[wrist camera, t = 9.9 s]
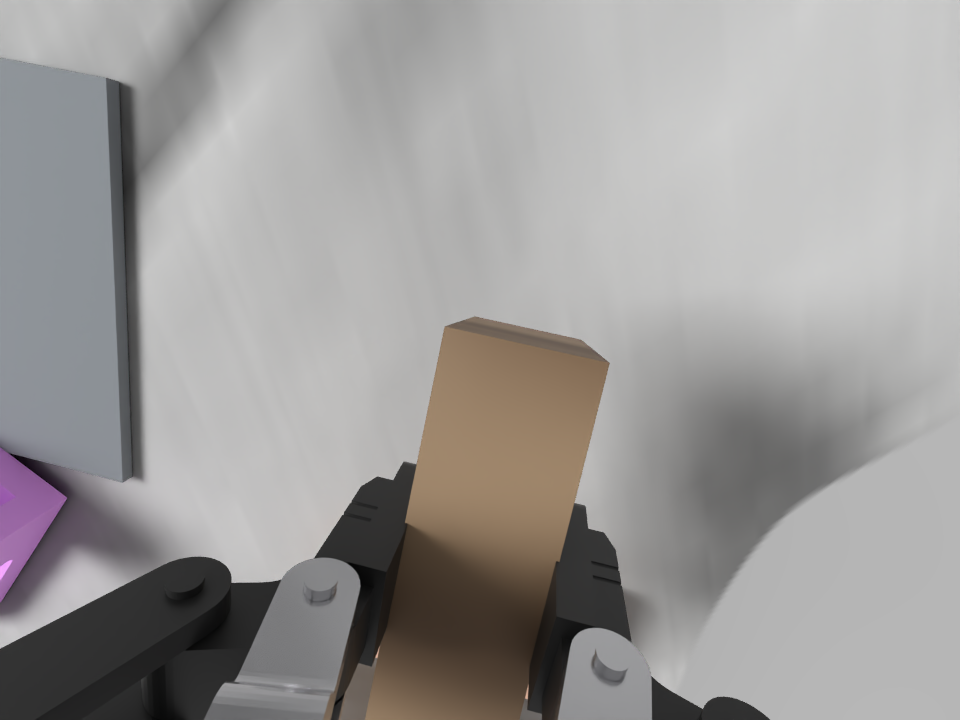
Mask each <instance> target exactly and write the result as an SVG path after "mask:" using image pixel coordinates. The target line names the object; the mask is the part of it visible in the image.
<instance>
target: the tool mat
mask: <svg viewBox="0 0 960 720" xmlns="http://www.w3.org/2000/svg"><path fill="white" fill-rule="evenodd" d="M0 448H2V449H3V450H4V451H6V452H7V453H11V454H15V455H19V456H22V457H26V458H30V459H34V460H38V461H42V462H45V463H49V464H53V465H57V466H61V467H65V468H68V469H72V470H76V471H80V472H84V473H88V474H91V475H95V476H99V477H103V478H107V479H111V480H114V481H118V482H122V483H123V482H124V481H126V480H128V479H129V478H131V477H132V451H131V422H130V392H129V363H128V333H127V304H126V274H125V245H124V215H123V186H122V157H121V127H120V98H119V82H118V81H115V80H111V79H108V78H104V77H98V76H93V75H88V74H83V73H77V72H72V71H67V70H62V69H57V68H51V67H46V66H41V65H36V64H30V63H25V62H20V61H15V60H9V59H4V58H0Z"/></svg>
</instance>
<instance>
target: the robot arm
mask: <svg viewBox="0 0 960 720" xmlns="http://www.w3.org/2000/svg"><path fill="white" fill-rule="evenodd" d="M416 466H417V464H412V463H408V462H403V464H402V465H401V467H400V469H399V471H398V473H397V474H396V476H395V478H394V480H389V479H385V478H381V477H376V478H374V479H373V480H371V481H369V482H368V483H366V484H365V485H363V486H361V488H360V489H359V491H358V492H357V494H356V495H355V497H354V498H353V500H352V503H350V504H349V506H348V507H347V509H346V510H345V512H344V515H342V517H341V518H340V520H339V521H338V523H337V524H336V526H335V527H334V529H333V530H332V532H331V533H330V535H329V536H328V538H327V539H326V541H325V542H324V544H323V545H322V547H321V549H320V550H319V552H318V553H317V555H316V556H315V558H314V559H310V560H306V561H303V562H301V563H299V564H297V565H296V566H294V567H292V568H291V569H290V570H289V571H288V572H287V573H286V574H285V575H284V576H283V578H282V580H279V581H273V582H262V583H231V573H230V571H229V569H228V568H227V567H226V566H225V565H224V564H223V563H221V562H220V561H218V560H215V559H212V558H208V557H188V558H183V559H178V560H175V561H172V562H169V563H167V564H165V565H163V566H161V567H159V568H157V569H155V570H153V571H151V572H149V573H147V574H145V575H143V576H141V577H139V578H137V579H135V580H133V581H131V582H129V583H127V584H126V585H124V586H122V587H120V588H118V589H116V590H114V591H112V592H110V593H108V594H106V595H104V596H102V597H100V598H98V599H96V600H94V601H92V602H90V603H88V604H87V605H85V606H83V607H81V608H79V609H77V610H75V611H73V612H71V613H69V614H67V615H65V616H63V617H61V618H59V619H57V620H55V621H53V622H51V623H50V624H48V625H46V626H44V627H42V628H40V629H38V630H36V631H34V632H32V633H30V634H28V635H26V636H24V637H22V638H20V639H18V640H16V641H14V642H12V643H11V644H9V645H7V646H5V647H3V648H1V649H0V720H340V719H341V715H342V710H343V706H344V702H345V696H346V690H347V688H348V686H349V684H350V682H351V680H352V677H353V675H354V673H355V670H356V668H357V665H358V663H360V664H363V665H367V666H371V667H372V665H373V662H374V660H375V657H376V655H377V652H378V649H379V647H380V644H381V642H382V639H383V636H384V634H385V631H386V628H387V624H388V619H389V614H390V609H391V604H392V599H393V594H394V589H395V584H396V579H397V574H398V570H399V565H400V560H401V555H402V550H403V545H404V540H405V535H406V530H407V525H408V524H407V523H405V520H406V515H407V510H408V505H409V500H410V495H411V490H412V485H413V480H414V475H415V471H416ZM618 568H619V567H618V561H617V556H616V550H615V548H614V547H613V545H612V544H611V542H610V541H609V539H608V538H607V536H606V535H605V533H603V532H599V531H595V530H591V529H588V524H587V514H586V507H585V506H584V505H580V504H576V503H574V506H573V510H572V514H571V518H570V522H569V526H568V530H567V534H566V538H565V542H564V546H563V549H562V553H561V557H560V561H559V562H558V561H556V563H555V567H554V571H553V575H552V579H551V583H550V587H549V591H548V595H547V599H546V603H545V607H544V611H543V615H542V619H541V623H540V627H539V631H538V635H537V639H536V643H535V647H534V651H533V655H532V659H531V663H530V667H529V685H528V705H527V710H529V711H533V712H536V713H540V714H542V720H770V719H769V718H768V717H766V716H765V715H764V714H763V713H761V712H760V711H758V710H757V709H756V708H754V707H752V706H751V705H749V704H747V703H745V702H743V701H740V700H738V699H734V698H730V697H717V698H713V699H711V700H710V701H708V702H707V703H706V705H705V706H704V708H703V709H702V708H700V707H698V706H696V705H694V704H693V703H690V702H689V701H687V700H685V699H684V698H682V697H680V696H678V695H677V694H675V693H673V692H671V691H670V690H668V689H667V688H665V687H664V686H662V685H661V684H660V683H658V682H657V681H656V680H655V679H654V678H653V677H652V676H651V672H650V669H649V666H648V664H647V662H646V660H645V658H644V657H643V655H642V654H641V652H640V651H639V650H638V649H637V648H636V647H635V646H634V645H633V644H632V642H631V637H630V631H629V625H628V619H627V614H626V608H625V602H624V596H623V590H622V586H621V579H620V573H619V571H618Z"/></svg>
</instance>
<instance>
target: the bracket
mask: <svg viewBox="0 0 960 720" xmlns="http://www.w3.org/2000/svg"><path fill="white" fill-rule="evenodd" d="M66 499H67V497H66V496H64V495H63V494H62V493H60V492H59V491H58V490H56V489H55V488H54V487H52V486H51V485H50V484H48V483H47V482H46V481H44V480H43V479H42V478H40V477H39V476H38V475H36V474H35V473H34V472H32V471H31V470H30V469H28V468H27V467H26V466H24V465H23V464H22V463H20V462H19V461H18V460H16V459H15V458H14V457H12V456H11V455H10V454H8V453H7V452H6V451H4V450H3V449H2V448H0V602H1V601H2V600H3V598H4V597H5V595H6V593H7V592H8V590H9V589H10V587H11V586H12V584H13V582H14V581H15V579H16V578H17V576H18V575H19V573H20V571H21V570H22V568H23V567H24V565H25V564H26V562H27V561H28V559H29V557H30V556H31V554H32V553H33V551H34V550H35V548H36V546H37V545H38V543H39V542H40V540H41V539H42V537H43V535H44V534H45V532H46V531H47V529H48V528H49V526H50V524H51V523H52V521H53V520H54V518H55V517H56V515H57V513H58V512H59V510H60V509H61V507H62V506H63V504H64V502H65V501H66Z"/></svg>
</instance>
